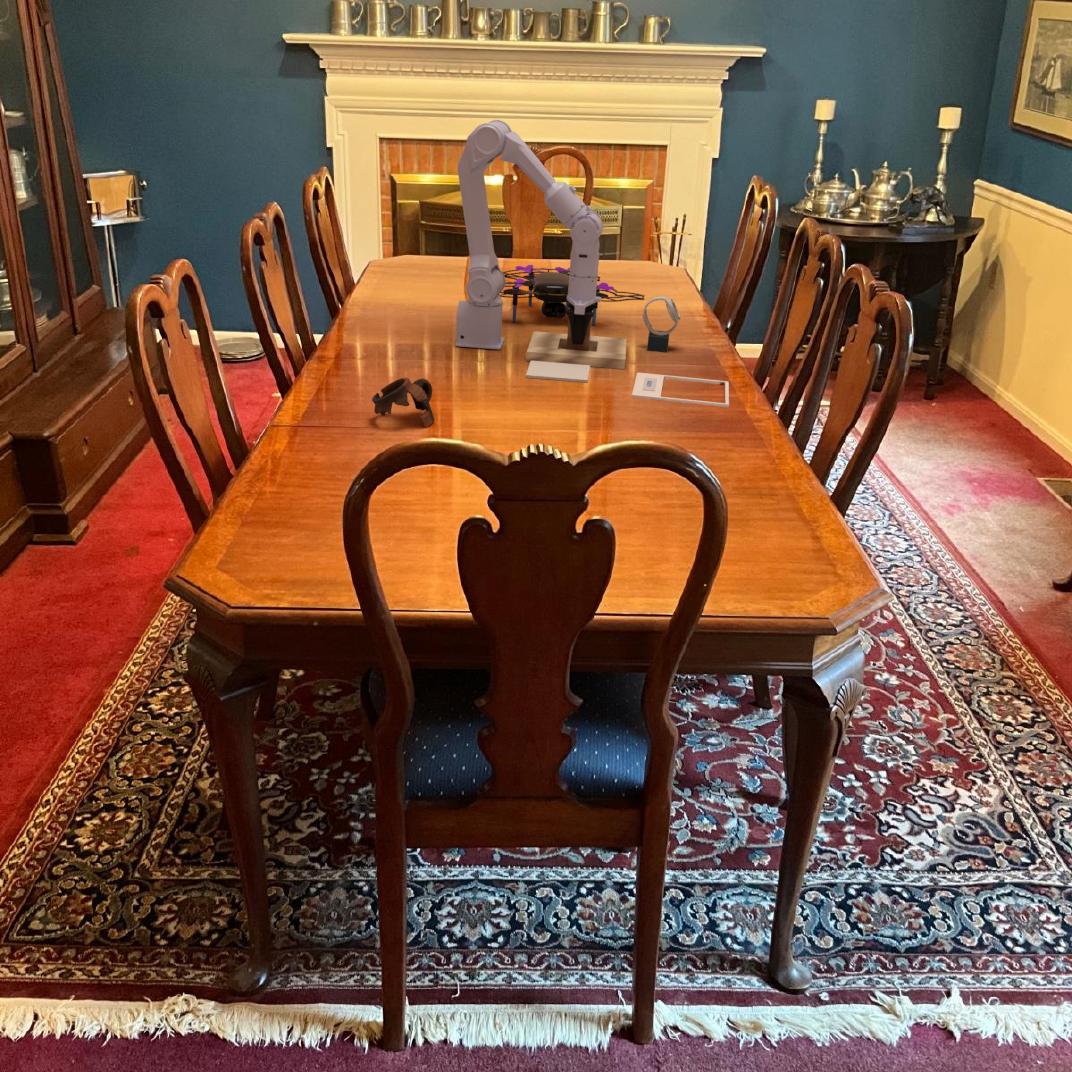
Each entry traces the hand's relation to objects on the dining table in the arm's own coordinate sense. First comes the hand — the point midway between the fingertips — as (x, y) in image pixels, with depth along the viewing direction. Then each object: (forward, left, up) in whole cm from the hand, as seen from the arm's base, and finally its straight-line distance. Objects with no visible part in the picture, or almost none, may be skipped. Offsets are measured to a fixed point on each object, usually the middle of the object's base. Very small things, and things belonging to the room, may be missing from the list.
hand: (578, 340), depth 221 cm
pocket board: (0, 0, -3) cm, 3 cm away
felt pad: (-3, -14, -3) cm, 15 cm away
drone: (-8, +32, -3) cm, 33 cm away
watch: (+17, +10, -3) cm, 20 cm away
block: (0, 0, -3) cm, 3 cm away
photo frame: (+21, -19, -4) cm, 29 cm away
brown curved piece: (-26, -48, -3) cm, 54 cm away
